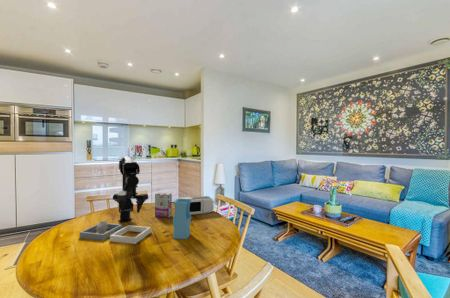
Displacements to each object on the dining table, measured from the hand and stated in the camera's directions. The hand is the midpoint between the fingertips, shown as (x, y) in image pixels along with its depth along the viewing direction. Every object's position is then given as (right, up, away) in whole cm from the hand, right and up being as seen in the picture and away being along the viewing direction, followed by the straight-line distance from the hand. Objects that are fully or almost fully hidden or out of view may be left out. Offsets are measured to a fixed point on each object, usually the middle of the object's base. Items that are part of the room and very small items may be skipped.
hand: (130, 212), depth 119 cm
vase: (+28, -14, +2) cm, 31 cm away
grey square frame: (-18, -13, +4) cm, 23 cm away
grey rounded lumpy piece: (-18, -14, +4) cm, 23 cm away
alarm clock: (+29, -13, +42) cm, 53 cm away
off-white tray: (0, -14, 0) cm, 14 cm away
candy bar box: (+8, -13, +35) cm, 38 cm away
